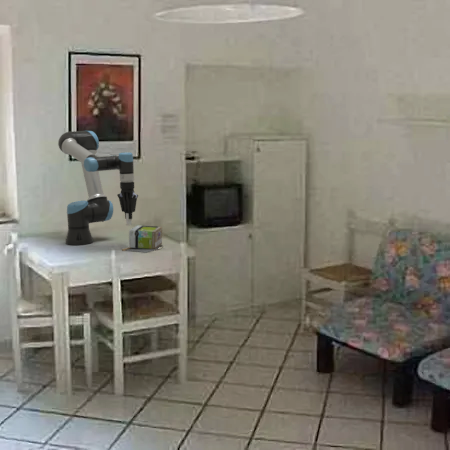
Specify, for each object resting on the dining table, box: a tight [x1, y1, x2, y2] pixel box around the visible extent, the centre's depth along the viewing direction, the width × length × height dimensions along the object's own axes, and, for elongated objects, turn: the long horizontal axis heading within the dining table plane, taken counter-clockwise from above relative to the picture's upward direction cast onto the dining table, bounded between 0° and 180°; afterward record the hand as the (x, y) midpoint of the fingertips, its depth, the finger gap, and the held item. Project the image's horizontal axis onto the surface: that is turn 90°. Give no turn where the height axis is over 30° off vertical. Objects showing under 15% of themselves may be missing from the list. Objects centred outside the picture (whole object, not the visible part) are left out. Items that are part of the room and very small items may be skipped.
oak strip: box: [121, 246, 132, 252], centre depth 413 cm, size 2×18×1 cm, turn 146°
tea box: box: [128, 225, 163, 249], centre depth 413 cm, size 15×10×15 cm
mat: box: [126, 246, 160, 254], centre depth 409 cm, size 14×16×1 cm
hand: (129, 224), depth 413 cm, fingers closed
